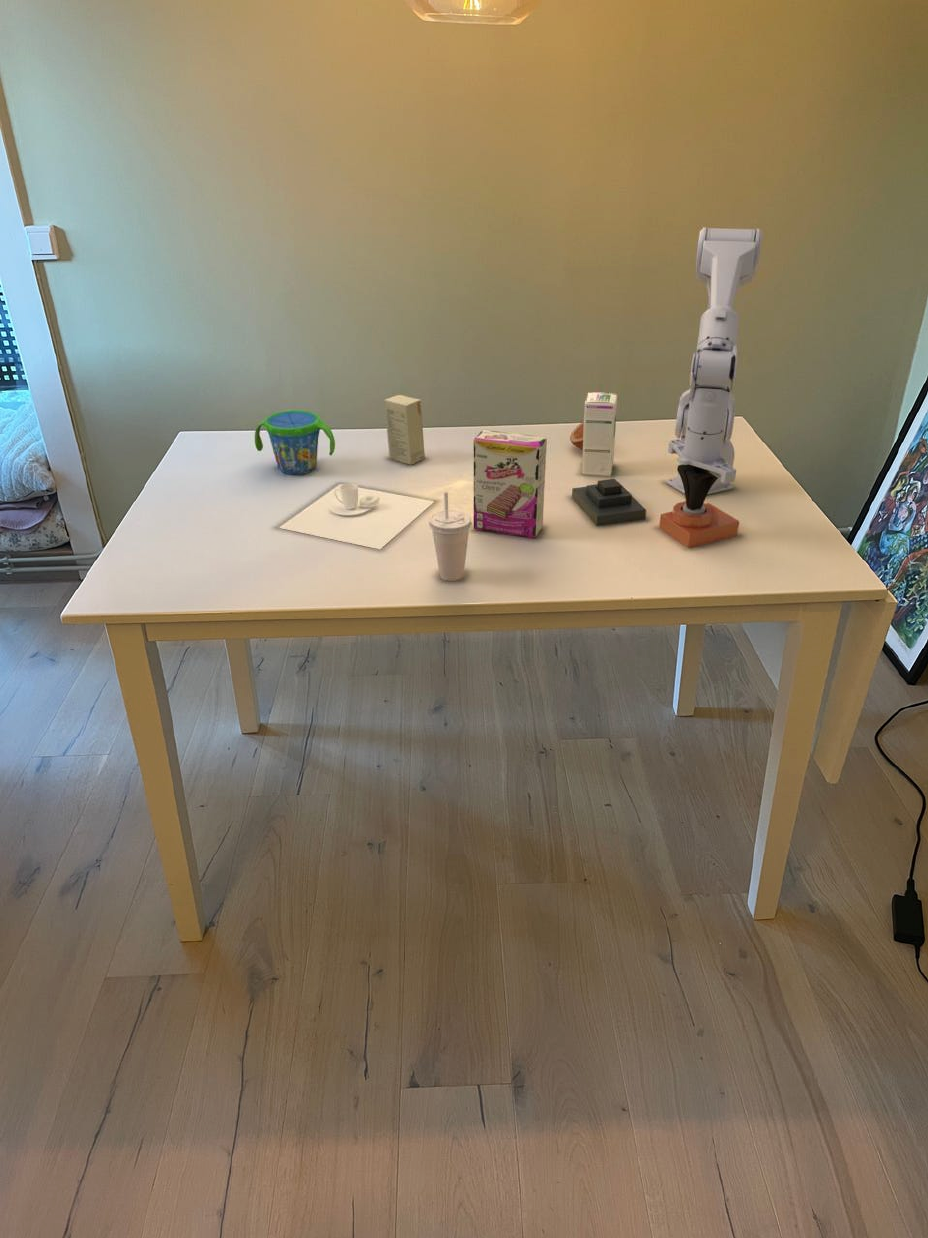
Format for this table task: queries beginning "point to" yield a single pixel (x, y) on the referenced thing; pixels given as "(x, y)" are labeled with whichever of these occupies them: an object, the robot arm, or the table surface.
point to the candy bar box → (509, 483)
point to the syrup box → (599, 433)
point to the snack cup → (294, 439)
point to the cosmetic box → (404, 429)
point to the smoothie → (450, 540)
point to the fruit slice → (578, 436)
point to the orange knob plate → (698, 525)
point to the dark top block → (609, 487)
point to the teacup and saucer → (358, 515)
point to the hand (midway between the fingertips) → (694, 507)
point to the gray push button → (693, 512)
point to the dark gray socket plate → (608, 505)
